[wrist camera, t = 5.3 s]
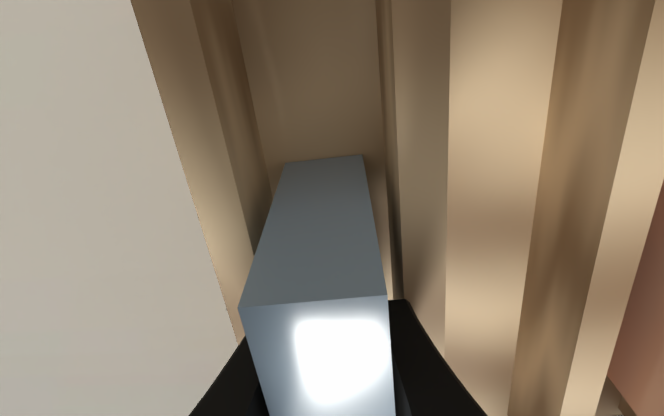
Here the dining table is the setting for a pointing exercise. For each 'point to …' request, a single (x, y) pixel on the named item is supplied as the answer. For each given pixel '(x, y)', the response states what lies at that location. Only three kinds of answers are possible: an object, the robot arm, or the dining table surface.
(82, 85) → the dining table surface
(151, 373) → the dining table surface
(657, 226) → the salmon pink block
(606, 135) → the dish rack
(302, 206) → the slate plate
